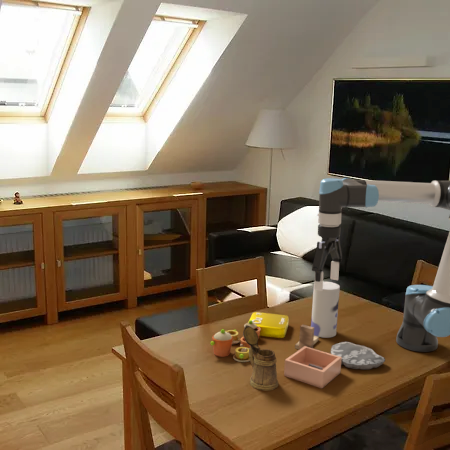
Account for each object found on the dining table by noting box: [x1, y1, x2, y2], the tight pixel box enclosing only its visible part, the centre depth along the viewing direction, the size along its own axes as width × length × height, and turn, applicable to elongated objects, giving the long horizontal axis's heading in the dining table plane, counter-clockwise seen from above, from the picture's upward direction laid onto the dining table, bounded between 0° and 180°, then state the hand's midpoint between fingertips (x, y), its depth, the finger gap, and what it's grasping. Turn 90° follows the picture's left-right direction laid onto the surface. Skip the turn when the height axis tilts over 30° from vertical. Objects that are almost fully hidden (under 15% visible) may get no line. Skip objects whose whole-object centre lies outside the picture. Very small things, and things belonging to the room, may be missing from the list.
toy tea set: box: [210, 320, 261, 363], centre depth 214 cm, size 26×16×10 cm, turn 165°
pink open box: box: [283, 346, 342, 389], centre depth 194 cm, size 14×14×6 cm
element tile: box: [247, 311, 290, 339], centre depth 232 cm, size 15×15×5 cm
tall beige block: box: [298, 324, 315, 350], centre depth 206 cm, size 4×2×12 cm, turn 55°
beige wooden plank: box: [294, 335, 320, 350], centre depth 219 cm, size 12×4×2 cm, turn 149°
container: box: [310, 281, 341, 339], centre depth 228 cm, size 10×10×20 cm
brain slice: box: [330, 341, 386, 370], centre depth 206 cm, size 20×17×3 cm
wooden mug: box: [242, 325, 279, 391], centre depth 187 cm, size 9×14×18 cm, turn 47°
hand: (326, 284), depth 200 cm, fingers open, 13 cm apart
